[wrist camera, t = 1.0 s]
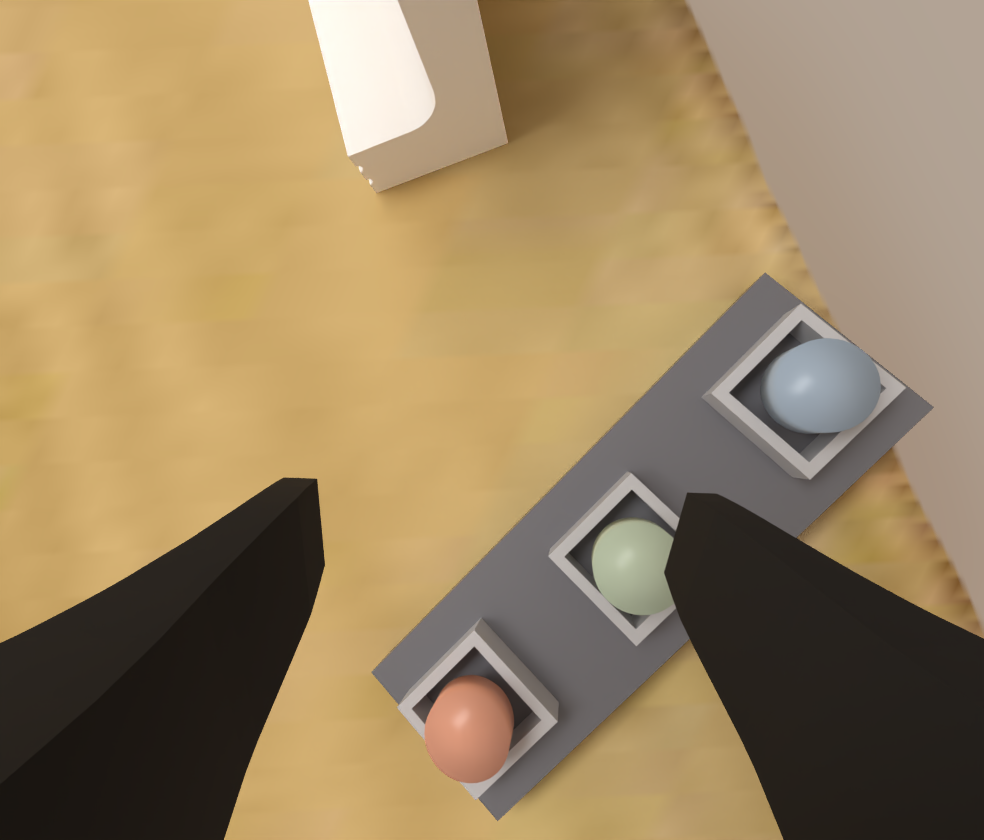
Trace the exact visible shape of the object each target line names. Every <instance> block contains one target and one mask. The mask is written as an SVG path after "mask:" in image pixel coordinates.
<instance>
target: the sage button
mask: <svg viewBox="0 0 984 840" xmlns="http://www.w3.org/2000/svg"><path fill="white" fill-rule="evenodd" d="M672 543H673V537H672V536H670V535H669V534H668V533H667V532H666V531H665V530H664V529H663V528H661V527H660V526H659V525H657V524H656V523H654V522H652V521H649V520H646V519H643V518H637V517H628V518H622V519H619V520H616V521H614V522H612V523H610V524H609V525H607V526H606V527H605V528H604V529H603V530H602V531H601V532H600V533H599V535H598V536H597V538H596V540H595V542H594V545H593V548H592V556H591V560H592V568H593V574H594V579H595V582H596V584H597V586H598V588H599V590H600V592H601V593H602V595H603V596H604V597H605V598H606V600H607V601H609V602H610V603H611V604H612V605H613V606H615V607H616V608H618V609H620V610H622V611H624V612H627V613H630V614H634V615H651V614H655V613H659V612H661V611H663V610H665V609H667V608H669V607H670V606H671V605H672V604H674V601H673V598H672V595H671V592H670V589H669V586H668V583H667V580H666V577H665V574H664V570H665V567H666V564H667V560H668V557H669V553H670V550H671V546H672Z"/></svg>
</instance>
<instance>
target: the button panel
mask: <svg viewBox="0 0 984 840" xmlns="http://www.w3.org/2000/svg"><path fill="white" fill-rule="evenodd" d="M823 338H832V339H839V340H843V341H846V342H849V343H852V342H851V341H850V340H849V339H848V338H846V337H845V336H844V335H843V334H841V333H840V332H839V331H838V330H836V329H835V328H834V327H833V326H831V325H830V324H829V323H828V322H826V321H825V320H824V319H823V318H821V317H820V316H819V315H818V314H816V313H815V312H814V311H813V310H811V309H810V308H809V307H808V306H806V305H805V304H804V303H803V302H801V301H800V300H799V299H798V298H796V297H795V296H794V295H793V294H791V293H790V292H789V291H788V290H786V289H785V288H784V287H783V286H781V285H780V284H779V283H778V282H776V281H775V280H774V279H773V278H771V277H770V276H769V275H767V274H766V273H764V274H763V275H762V276H761V277H760V278H759V279H758V280H757V281H755V282H754V283H753V284H752V285H751V286H750V287H749V288H748V289H747V290H746V291H745V292H744V293H743V294H742V295H741V296H740V297H739V298H738V299H737V300H736V301H735V302H734V303H733V304H732V305H731V306H730V307H729V308H728V309H727V310H726V311H725V312H724V313H723V314H722V315H721V316H720V317H719V318H718V319H717V320H716V321H715V323H714V324H713V325H712V326H711V327H710V328H709V329H708V330H707V331H706V332H705V333H704V334H703V335H702V336H701V337H700V338H699V339H698V340H697V341H696V342H695V343H694V344H693V345H692V346H691V347H690V348H689V349H688V350H687V351H686V352H685V353H684V354H683V355H682V356H681V357H680V358H679V359H678V360H677V361H676V362H675V363H674V364H673V365H672V366H671V367H670V368H669V369H668V370H667V371H666V372H665V373H664V374H663V375H662V376H661V377H660V378H659V379H658V380H657V381H656V382H655V383H654V384H653V385H652V386H651V388H650V389H649V390H648V391H647V392H646V393H645V394H644V395H643V396H642V397H641V398H640V399H639V400H638V401H637V402H636V403H635V404H634V405H633V406H632V407H631V408H630V409H629V410H628V411H627V412H626V413H625V414H624V415H623V416H622V417H621V418H620V419H619V420H618V421H617V422H616V423H615V424H614V425H613V426H612V427H611V428H610V429H609V430H608V431H607V432H606V433H605V434H604V435H603V436H602V437H601V438H600V439H599V440H598V441H597V442H596V443H595V444H594V445H593V446H592V447H591V448H590V449H589V450H588V451H587V452H586V454H585V455H584V456H583V457H582V458H581V459H580V460H579V461H578V462H577V463H576V464H575V465H574V466H573V467H572V468H571V469H570V470H569V471H568V472H567V473H566V474H565V475H564V476H563V477H562V478H561V479H560V480H559V481H558V482H557V483H556V484H555V485H554V486H553V487H552V488H551V489H550V490H549V491H548V492H547V493H546V494H545V495H544V496H543V497H542V498H541V499H540V500H539V501H538V502H537V503H536V504H535V505H534V506H533V507H532V508H531V509H530V510H529V511H528V512H527V513H526V514H525V515H524V516H523V517H522V519H521V520H520V521H519V522H518V523H517V524H516V525H515V526H514V527H513V528H512V529H511V530H510V531H509V532H508V533H507V534H506V535H505V536H504V537H503V538H502V539H501V540H500V541H499V542H498V543H497V544H496V545H495V546H494V547H493V548H492V549H491V550H490V551H489V552H488V553H487V554H486V555H485V556H484V557H483V558H482V559H481V560H480V561H479V562H478V563H477V564H476V565H475V566H474V567H473V568H472V569H471V570H470V571H469V572H468V573H467V574H466V575H465V576H464V577H463V578H462V579H461V580H460V581H459V582H458V583H457V585H456V586H455V587H454V588H453V589H452V590H451V591H450V592H449V593H448V594H447V595H446V596H445V597H444V598H443V599H442V600H441V601H440V602H439V603H438V604H437V605H436V606H435V607H434V608H433V609H432V610H431V611H430V612H429V613H428V614H427V615H426V616H425V617H424V618H423V619H422V620H421V621H420V622H419V623H418V624H417V625H416V626H415V627H414V628H413V629H412V630H411V631H410V632H409V633H408V634H407V635H406V636H405V637H404V638H403V639H402V640H401V641H400V642H399V643H398V644H397V645H396V646H395V647H394V648H393V650H392V651H391V652H390V653H389V654H388V655H387V656H386V657H385V658H384V659H383V660H382V661H381V662H380V663H379V664H378V666H377V667H376V668H375V669H374V670H373V671H372V674H373V675H374V676H375V677H376V678H377V679H378V681H379V682H380V683H381V684H382V685H383V687H384V688H385V689H386V690H387V691H388V692H389V694H390V695H391V696H392V697H393V698H394V699H395V701H396V702H397V703H398V704H399V705H398V707H397V708H398V709H399V711H400V712H401V713H402V714H403V715H404V716H405V718H406V719H407V720H408V721H409V722H410V724H411V725H412V726H413V727H414V728H415V729H416V731H417V732H418V733H419V734H420V735H421V736H422V738H423V739H424V740H425V735H424V732H425V723H426V720H427V717H428V714H429V712H430V710H431V709H432V707H433V705H434V703H435V701H436V699H437V698H438V696H439V694H440V692H441V691H442V689H443V688H444V687H445V686H446V685H447V684H448V683H449V682H450V681H452V680H454V679H456V678H458V677H461V676H465V675H477V676H481V677H484V678H487V679H489V680H491V681H492V682H494V683H495V684H497V685H498V686H499V687H500V688H501V689H502V690H503V691H504V693H505V694H506V696H507V697H508V699H509V701H510V703H511V706H512V709H513V713H514V728H513V734H512V738H511V743H510V747H509V752H508V756H507V759H506V761H505V763H504V765H503V766H502V768H501V769H500V770H499V771H498V773H496V774H495V775H494V776H493V777H491V778H490V779H488V780H485V781H483V782H479V783H464V782H460V783H461V784H462V785H463V786H464V787H465V788H466V790H467V791H468V792H469V793H470V794H471V796H472V797H473V798H474V799H475V800H477V799H478V798H479V800H480V801H481V802H482V803H483V804H484V806H485V807H486V808H487V809H488V810H489V811H490V813H491V814H492V815H493V816H494V817H495V818H496V820H497V821H498V820H499V819H500V818H501V817H502V816H503V815H505V814H506V813H507V812H508V811H509V810H510V809H511V808H512V807H513V806H514V805H515V804H516V803H517V802H518V801H519V800H520V799H521V798H522V797H524V796H525V795H526V794H527V793H528V792H529V791H530V790H531V789H532V788H533V787H534V786H535V785H536V784H537V783H538V782H539V781H540V780H541V779H543V778H544V777H545V776H546V775H547V774H548V773H549V772H550V771H551V770H552V769H553V768H554V767H555V766H556V765H557V764H558V763H559V762H560V761H561V760H563V759H564V758H565V757H566V756H567V755H568V754H569V753H570V752H571V751H572V750H573V749H574V748H575V747H576V746H577V745H578V744H579V743H580V742H582V741H583V740H584V739H585V738H586V737H587V736H588V735H589V734H590V733H591V732H592V731H593V730H594V729H595V728H596V727H597V726H598V725H599V724H600V723H602V722H603V721H604V720H605V719H606V718H607V717H608V716H609V715H610V714H611V713H612V712H613V711H614V710H615V709H616V708H617V707H618V706H619V705H621V704H622V703H623V702H624V701H625V700H626V699H627V698H628V697H629V696H630V695H631V694H632V693H633V692H634V691H635V690H636V689H637V688H638V687H640V686H641V685H642V684H643V683H644V682H645V681H646V680H647V679H648V678H649V677H650V676H651V675H652V674H653V673H654V672H655V671H656V670H657V669H658V668H660V667H661V666H662V665H663V664H664V663H665V662H666V661H667V660H668V659H669V658H670V657H671V656H672V655H673V654H674V653H675V652H676V651H677V650H679V649H680V648H681V647H682V646H683V645H684V644H685V643H686V642H687V641H688V640H689V639H690V638H689V636H688V634H687V632H686V630H685V628H684V626H683V624H682V622H681V620H680V617H679V614H678V612H677V609H676V606H675V604H672V605H671V606H670V607H669V608H667V609H665V610H663V611H661V612H659V613H655V614H651V615H634V614H630V613H627V612H624V611H622V610H620V609H618V608H616V607H615V606H613V605H612V604H611V603H610V602H609V601H607V600H606V598H605V597H604V596H603V595H602V593H601V592H600V590H599V588H598V586H597V584H596V582H595V579H594V574H593V568H592V560H591V556H592V548H593V545H594V542H595V540H596V538H597V536H598V535H599V533H600V532H601V531H602V530H603V529H604V528H605V527H606V526H607V525H609V524H610V523H612V522H614V521H616V520H619V519H622V518H628V517H637V518H643V519H646V520H649V521H652V522H654V523H656V524H657V525H659V526H660V527H661V528H663V529H664V530H665V531H666V532H667V533H668V534H669V535H670V536H672V537H673V539H674V536H675V532H676V529H677V526H678V522H679V519H680V515H681V512H682V508H683V505H684V501H685V498H686V494H687V492H689V493H716V494H719V495H721V496H723V497H725V498H727V499H729V500H731V501H733V502H735V503H737V504H739V505H740V506H742V507H744V508H746V509H748V510H749V511H751V512H753V513H755V514H756V515H758V516H760V517H761V518H763V519H765V520H767V521H768V522H770V523H772V524H773V525H775V526H777V527H778V528H780V529H782V530H783V531H785V532H787V533H788V534H790V535H792V536H793V537H795V538H797V537H798V536H799V535H800V534H801V533H802V532H803V531H804V530H805V529H806V528H807V527H808V526H809V525H810V524H811V523H812V522H813V521H815V520H816V519H817V518H818V517H819V516H820V515H821V514H822V513H823V512H824V511H825V510H826V509H827V508H828V507H829V506H830V505H831V504H832V503H834V502H835V501H836V500H837V499H838V498H839V497H840V496H841V495H842V494H843V493H844V492H845V491H846V490H847V489H848V488H849V487H850V486H851V485H852V484H854V483H855V482H856V481H857V480H858V479H859V478H860V477H861V476H862V475H863V474H864V473H865V472H866V471H867V470H868V469H869V468H870V467H871V466H873V465H874V464H875V463H876V462H877V461H878V460H879V459H880V458H881V457H882V456H883V455H884V454H885V453H886V452H887V451H888V450H889V449H890V448H891V447H893V446H894V445H895V444H896V443H897V442H898V441H899V440H900V439H901V438H902V437H903V436H904V435H905V434H906V433H907V432H908V431H909V430H910V429H912V428H913V426H915V425H916V424H917V423H918V422H919V421H920V420H921V419H922V418H923V417H924V416H925V415H926V414H927V413H928V412H929V411H931V410H932V409H933V406H932V405H930V404H929V403H928V402H927V401H925V400H924V399H923V398H922V397H920V396H919V395H918V394H917V393H915V392H914V391H913V390H912V389H910V388H909V387H908V386H906V385H905V384H904V383H903V382H902V381H900V380H899V379H898V378H896V377H895V376H894V375H893V374H891V373H890V372H889V371H888V370H887V369H885V368H884V367H883V366H882V365H880V364H879V363H878V362H876V361H875V360H874V359H873V358H871V357H870V356H869V355H868V354H867V355H868V356H869V357H870V358H871V359H872V361H873V362H874V364H875V365H876V368H877V370H878V372H879V376H880V382H881V391H880V397H879V400H878V403H877V405H876V407H875V408H874V410H873V411H872V413H871V414H870V415H869V416H868V417H867V418H866V419H865V420H864V421H863V422H861V423H860V424H858V425H857V426H855V427H853V428H850V429H847V430H844V431H840V432H831V433H815V434H804V433H798V432H794V431H791V430H789V429H786V428H784V427H783V426H781V425H780V424H778V423H777V422H776V421H775V420H774V419H772V418H771V416H770V415H769V414H768V412H767V411H766V409H765V407H764V405H763V402H762V399H761V392H760V387H761V380H762V377H763V374H764V372H765V370H766V368H767V367H768V365H769V364H770V363H771V362H772V361H773V360H774V359H775V358H776V357H777V356H779V355H780V354H782V353H784V352H786V351H788V350H790V349H792V348H795V347H797V346H799V345H801V344H803V343H806V342H809V341H811V340H816V339H823ZM852 344H853V345H855V344H854V343H852ZM855 346H856V345H855ZM857 347H858V346H857Z"/></svg>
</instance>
